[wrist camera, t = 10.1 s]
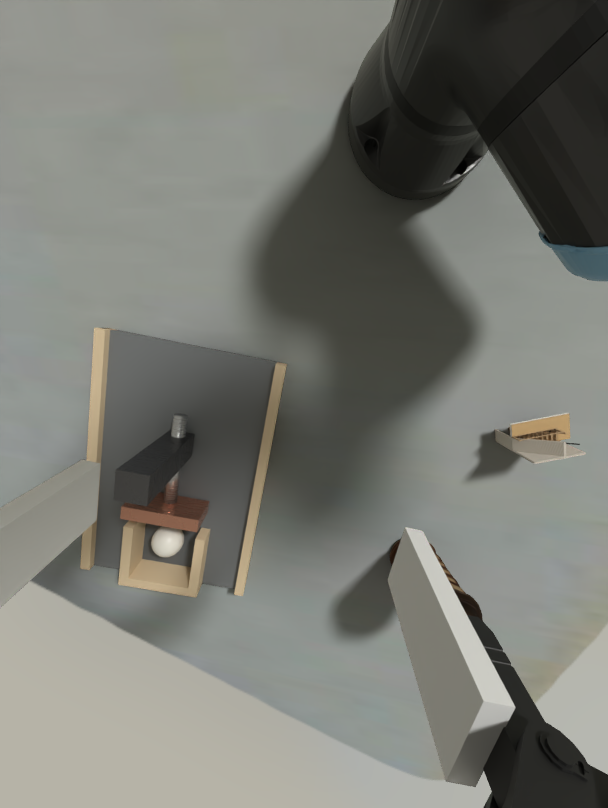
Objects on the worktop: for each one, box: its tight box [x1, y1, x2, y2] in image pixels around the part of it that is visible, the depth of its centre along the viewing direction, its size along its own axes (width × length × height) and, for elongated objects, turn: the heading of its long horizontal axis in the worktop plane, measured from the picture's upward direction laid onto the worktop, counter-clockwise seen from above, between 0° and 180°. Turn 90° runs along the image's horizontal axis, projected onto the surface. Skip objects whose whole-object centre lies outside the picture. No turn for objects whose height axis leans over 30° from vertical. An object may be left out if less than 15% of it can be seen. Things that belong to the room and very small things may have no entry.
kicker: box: [113, 413, 210, 532], centre depth 35 cm, size 14×9×12 cm, turn 169°
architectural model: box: [495, 413, 586, 464], centre depth 39 cm, size 3×7×7 cm, turn 102°
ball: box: [151, 526, 184, 557], centre depth 43 cm, size 4×4×4 cm
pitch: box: [80, 328, 287, 597], centre depth 41 cm, size 32×22×4 cm
